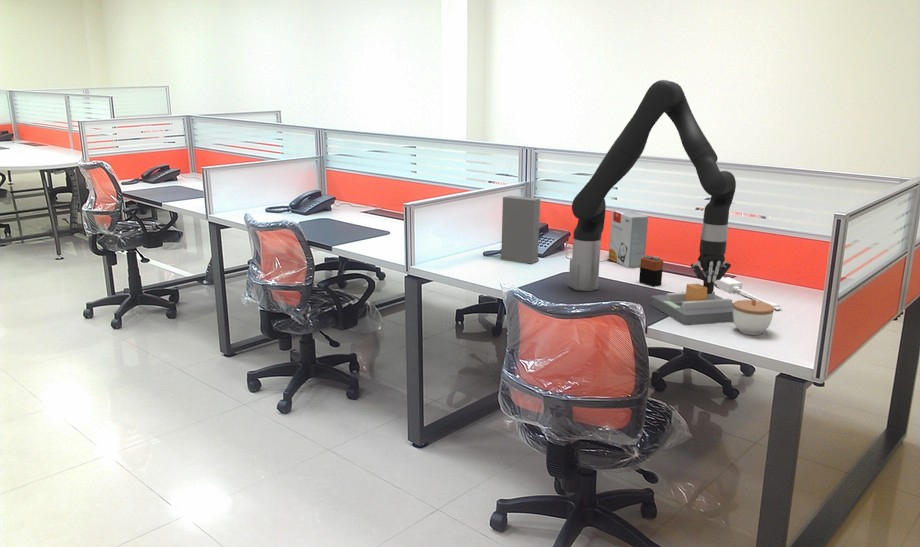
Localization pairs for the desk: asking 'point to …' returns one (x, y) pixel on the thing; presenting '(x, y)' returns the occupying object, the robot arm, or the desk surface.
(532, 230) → the tall grey upright block
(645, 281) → the battery
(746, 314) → the lidded jar
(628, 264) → the hard drive box
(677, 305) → the tray
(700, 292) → the handle
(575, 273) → the robot arm
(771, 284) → the desk surface
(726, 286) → the charging cable
